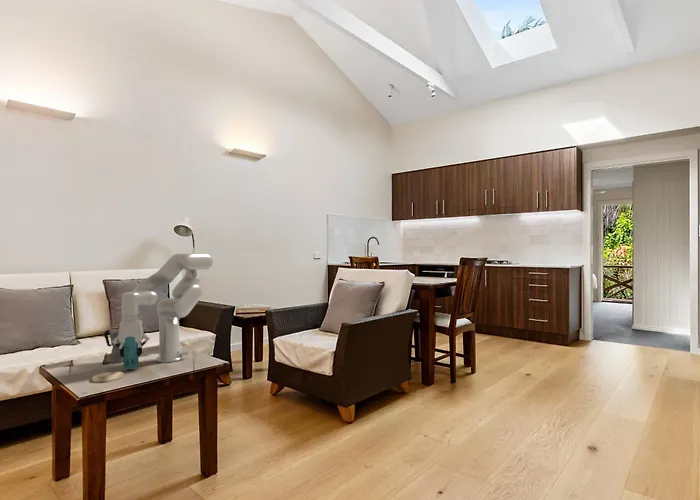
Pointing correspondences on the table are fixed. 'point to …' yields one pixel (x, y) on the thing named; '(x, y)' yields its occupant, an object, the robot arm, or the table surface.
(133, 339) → the beverage bottle
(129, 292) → the robot arm
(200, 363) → the table surface
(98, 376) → the disc
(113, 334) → the coffeepot
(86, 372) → the table surface
